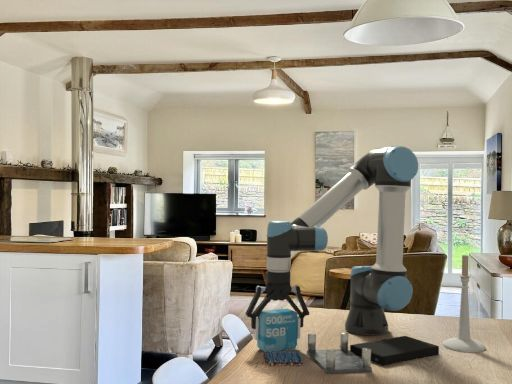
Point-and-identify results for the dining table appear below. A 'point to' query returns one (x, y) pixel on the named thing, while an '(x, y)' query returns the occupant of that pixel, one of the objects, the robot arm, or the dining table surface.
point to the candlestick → (464, 319)
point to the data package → (277, 330)
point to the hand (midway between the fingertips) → (277, 338)
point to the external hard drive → (396, 350)
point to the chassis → (339, 357)
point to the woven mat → (282, 358)
